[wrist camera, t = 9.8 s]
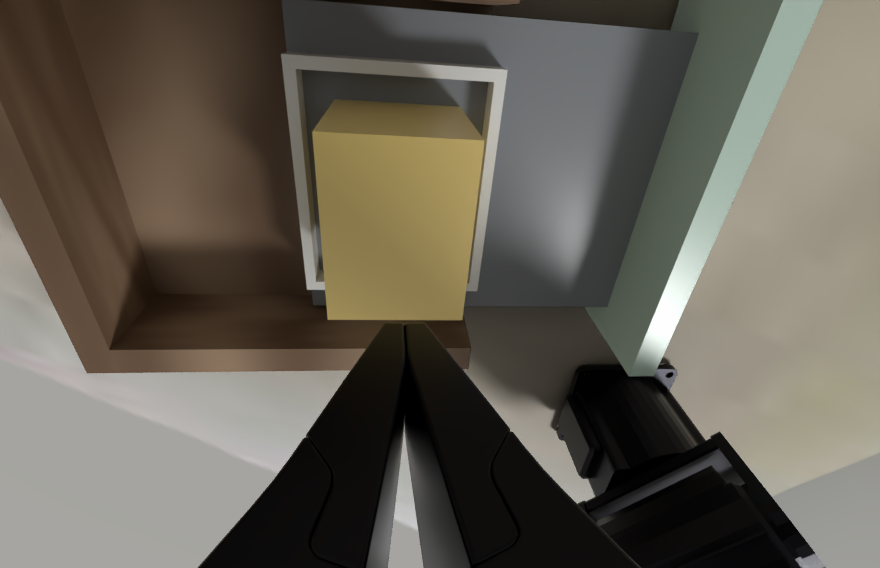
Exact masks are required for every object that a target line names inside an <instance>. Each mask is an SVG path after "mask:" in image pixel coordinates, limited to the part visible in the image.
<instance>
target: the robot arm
mask: <svg viewBox="0 0 880 568" xmlns="http://www.w3.org/2000/svg"><path fill="white" fill-rule="evenodd" d="M585 373H586V374H585ZM676 376H677V370H676V369H675V368H674V367H673V366H672V365H659V366H658V368H657V370H656V372H655V374H654V376H628V374H627V373H626V371H625V370H624V368H623V367H622V365H596V366H581V367H579V368H578V369H577V370H576V372H575V375H574V379H573V382H572V385H571V388H570V391H569V394H568V396H567V397H566V399H565V402H564V405H563V408H562V411H561V414H560V418H559V421H558V425H559V426H558V429H557V435H558V438H559V439H560V440H564V441H565V442H566V445H567V447H568V450H569V452H570V455H571V457H572V460H573V462H574V465H575V467H576V470H577V472H578V475H579V476H580V477H581V478H583V479H588V480H589V483H590V485H591V487H592V490H593V492H594V495H595V497H594V498H592V499H590V500H588V501H586V502H585V501H582V502H580V503H578V504H577V503H576V502H575V501H574V500H573V499H572V498H571V497H570V496H569V495H568V494H567V493H566V492H565V491H564V490H563V489H562V488H561V487H560V486H559V485H558V484H557V483H556V482H555V481H554V480H553V479H552V478H551V477H550V475H549V474H548V473H547V472H546V471H545V470H544V469H543V468H542V467H541V466H540V464H539V463H538V462H537V461H536V460H535V459H534V457H533V456H532V455H531V454H530V453H529V452H528V450H527V449H526V448H525V447H524V446H523V444H522V443H521V442H520V441H519V439H518V438H517V437H516V435H515V434H514V433H513V432H510V428H509V427H508V426H507V424H506V423H505V422H504V421H503V419H502V418H501V417H500V416H499V414H498V413H497V412H496V411H495V409H494V408H493V407H492V406H491V404H490V403H489V402H488V401H487V399H486V398H485V397H484V396H483V394H482V393H481V392H480V391H479V390H478V388H477V387H476V386H475V385H474V383H473V382H472V381H471V380H470V378H469V377H468V376H467V375H466V373H465V372H464V371H463V370H462V368H461V367H460V366H459V365H458V363H457V362H456V361H455V360H454V358H453V357H452V356H451V355H450V353H449V352H448V351H447V350H446V348H445V347H444V346H443V345H442V343H441V342H440V341H439V340H438V338H437V337H436V336H435V335H434V333H433V332H432V331H431V330H430V328H429V327H428V326H427V325H426V324H425V323H423V322H408V323H406V324H405V326H404V324H403V323H401V322H386V323H384V324H383V325H382V326H381V328H380V329H379V331H378V332H377V334H376V335H375V337H374V338H373V339H372V341H371V342H370V344H369V345H368V347H367V348H366V349H365V351H364V352H363V354H362V355H361V357H360V358H359V360H358V361H357V362H356V364H355V365H354V367H353V368H352V370H351V371H350V373H349V374H348V375H347V377H346V378H345V380H344V381H343V383H342V384H341V385H340V387H339V388H338V390H337V391H336V393H335V394H334V396H333V397H332V398H331V400H330V401H329V403H328V404H327V406H326V407H325V409H324V410H323V411H322V413H321V414H320V416H319V417H318V419H317V420H316V421H315V423H314V424H313V426H312V427H311V429H310V430H309V432H308V433H307V435H306V438H304V439H303V440H302V441H301V443H300V444H299V446H298V447H297V449H296V450H295V451H294V453H293V454H292V456H291V457H290V458H289V460H288V461H287V462H286V464H285V465H284V466H283V468H282V469H281V470H280V472H279V473H278V475H277V476H276V477H275V479H274V480H273V481H272V483H271V484H270V485H269V486H268V487H267V488H266V490H265V491H264V492H263V493H262V494H261V496H260V497H259V498H258V499H257V500H256V501H255V503H254V504H253V505H252V506H251V507H250V509H249V510H248V511H247V512H246V513H245V514H244V516H243V517H242V518H241V519H240V520H239V521H238V523H236V525H235V526H234V527H233V528H232V529H231V530H230V532H229V533H228V534H227V535H226V536H225V537H224V538H223V539H222V541H221V542H220V543H219V544H218V545H217V546H216V547H215V549H214V550H213V551H212V552H211V553H210V554H209V555H208V557H207V558H206V559H205V560H204V561H203V562H202V564H201V565H200V566H199V567H198V568H388V560H389V552H390V544H391V534H392V527H393V518H394V510H395V502H396V493H397V485H398V476H399V468H400V460H401V451H402V443H403V432H404V427H405V438H406V446H407V453H408V460H409V467H410V474H411V481H412V488H413V495H414V502H415V510H416V517H417V524H418V531H419V538H420V545H421V551H422V559H423V566H424V568H826V567H825V566H824V564H823V563H822V562H821V560H820V559H819V558H818V556H817V555H816V554H815V552H814V551H813V550H812V548H811V547H810V546H809V545H808V543H807V542H806V541H805V539H804V538H803V537H802V535H801V534H800V533H799V532H798V530H797V529H796V528H795V526H794V525H793V524H792V522H791V521H790V520H789V518H788V517H787V516H786V515H785V513H784V512H783V511H782V510H781V508H780V507H779V506H778V504H777V503H776V502H775V501H774V499H773V498H772V497H771V495H770V494H769V493H768V492H767V490H766V489H765V488H764V487H763V485H762V484H761V483H760V482H759V480H758V479H757V478H756V477H755V475H754V474H753V473H752V472H751V470H750V469H749V468H748V466H747V465H746V464H745V463H744V461H743V460H742V459H741V458H740V456H739V455H738V454H737V453H736V451H735V450H734V449H733V448H732V446H731V445H730V444H729V443H728V441H727V440H726V439H725V438H724V436H723V435H722V434H721V433H720V432H718V433H716V434H714V435H712V436H710V437H711V439H709V440H707V441H706V440H705V439H704V437H703V436H702V435H701V433H700V432H699V431H698V429H697V428H696V427H695V425H694V424H693V422H692V421H691V420H690V418H689V417H688V416H687V414H686V413H685V412H684V410H683V409H682V407H681V406H680V405H679V403H678V402H677V401H676V399H675V398H674V397H673V395H672V394H671V392H670V391H669V390H670V388H671V386H672V384H673V382H674V380H675V378H676Z"/></svg>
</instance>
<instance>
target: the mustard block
mask: <svg viewBox="0 0 880 568" xmlns="http://www.w3.org/2000/svg"><path fill="white" fill-rule="evenodd" d="M312 135H313V147H314V159H315V172H316V184H317V196H318V208H319V220H320V233H321V245H322V257H323V269H324V282H325V294H326V306H327V318H328V320H462V319H463V311H464V303H465V295H466V287H467V279H468V271H469V263H470V255H471V246H472V238H473V230H474V222H475V214H476V206H477V198H478V190H479V182H480V174H481V166H482V158H483V149H484V141H485V140H484V139H483V138H482V136H481V135H480V133H479V132H478V131H477V129H476V128H475V127H474V125H473V124H472V122H471V121H470V120H469V118H468V117H467V115H466V114H465V113H464V111H463V110H462V109H461V107H455V106H439V105H422V104H406V103H390V102H374V101H357V100H341V99H335V100H334V101H333V103H332V104H331V105H330V107H329V108H328V110H327V111H326V113H325V114H324V115H323V117H322V118H321V120H320V121H319V123H318V124H317V125H316V127H315V128H314V130H313V131H312Z"/></svg>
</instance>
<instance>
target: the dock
mask: <svg viewBox="0 0 880 568" xmlns="http://www.w3.org/2000/svg"><path fill="white" fill-rule="evenodd" d="M315 1H327V2H338V3H350V4H362V5H374V6H386V7H398V8H409V9H421V10H433V11H445V12H457V13H468V14H480V15H491V7H492V6H497V5H508V4H519V3H520V0H315ZM285 52H287V48H286V39H285V29H284V19H283V10H282V0H0V197H1V199H2V201H3V203H4V205H5V207H6V209H7V211H8V213H9V215H10V217H11V219H12V221H13V223H14V225H15V227H16V230H17V232H18V234H19V236H20V238H21V240H22V242H23V244H24V246H25V248H26V250H27V252H28V254H29V256H30V258H31V260H32V262H33V264H34V266H35V268H36V270H37V272H38V274H39V276H40V278H41V280H42V282H43V285H44V287H45V289H46V291H47V293H48V295H49V297H50V299H51V301H52V303H53V305H54V307H55V309H56V311H57V313H58V315H59V317H60V319H61V321H62V323H63V325H64V327H65V329H66V331H67V333H68V335H69V338H70V340H71V342H72V344H73V346H74V348H75V350H76V352H77V354H78V356H79V358H80V360H81V362H82V364H83V366H84V368H85V370H86V372H87V373H143V372H233V371H323V370H352V368H353V367H354V365H355V364H356V362H357V361H358V360H359V358H360V357H361V355H362V354H363V352H364V351H365V349H366V348H367V347H368V345H369V344H370V342H371V341H372V339H373V338H374V337H375V335H376V334H377V332H378V331H379V329H380V328H381V326H382V325H383V324H384V323H386V322H401V323H403V324H404V326H405V324H406V323H408V322H423V323H425V324H426V325H427V326H428V327H429V328H430V330H431V331H432V332H433V333H434V335H435V336H436V337H437V338H438V340H439V341H440V342H441V343H442V345H443V346H444V347H445V348H446V350H447V351H448V352H449V353H450V355H451V356H452V357H453V358H454V360H455V361H456V362H457V363H458V365H459V366H460V367H461V368H462V369H468V366H469V359H470V352H471V346H470V342H469V337H468V333H467V329H466V324H465V320H464V316H463V319H462V320H328V318H327V306H326V305H313V299H312V290H307V285H306V276H305V267H304V258H303V249H302V240H301V231H300V222H299V213H298V204H297V195H296V186H295V177H294V168H293V158H292V149H291V140H290V131H289V122H288V113H287V104H286V95H285V86H284V77H283V68H282V59H281V54H282V53H285Z"/></svg>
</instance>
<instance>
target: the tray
mask: <svg viewBox="0 0 880 568" xmlns="http://www.w3.org/2000/svg"><path fill="white" fill-rule="evenodd" d="M822 2H823V0H679V3H678V7H677V10H676V13H675V16H674V20H673V23H672V26H671V30H670V31H669V30H657V29H646V28H634V27H622V26H610V25H598V24H587V23H575V22H563V21H551V20H539V19H527V18H516V17H504V16H492V15H480V14H468V13H457V12H445V11H433V10H421V9H409V8H398V7H386V6H374V5H362V4H350V3H338V2H327V1H315V0H282V10H283V19H284V29H285V39H286V48H287V52H285V53H282V54H281V59H282V68H283V77H284V86H285V95H286V104H287V113H288V122H289V131H290V140H291V149H292V158H293V168H294V177H295V186H296V195H297V204H298V213H299V222H300V231H301V240H302V249H303V258H304V267H305V276H306V285H307V290H312V299H313V305H326V294H325V282H324V269H323V257H322V245H321V233H320V220H319V208H318V196H317V184H316V172H315V159H314V147H313V135H312V131H313V130H314V128H315V127H316V125H317V124H318V123H319V121H320V120H321V118H322V117H323V115H324V114H325V113H326V111H327V110H328V108H329V107H330V105H331V104H332V103H333V101H334V100H335V99H341V100H357V101H374V102H390V103H406V104H422V105H439V106H455V107H461V109H462V110H463V111H464V113H465V114H466V115H467V117H468V118H469V120H470V121H471V122H472V124H473V125H474V127H475V128H476V129H477V131H478V132H479V133H480V135H481V136H482V138H483V139H484V140H485V141H484V149H483V158H482V166H481V174H480V182H479V190H478V198H477V206H476V214H475V222H474V230H473V238H472V246H471V255H470V263H469V271H468V279H467V287H466V295H465V303H464V306H511V307H586V309H585V310H586V311H587V313H588V314H589V316H590V317H591V319H592V320H593V322H594V324H595V325H596V327H597V328H598V330H599V331H600V333H601V334H602V336H603V337H604V339H605V340H606V342H607V344H608V345H609V347H610V348H611V350H612V351H613V353H614V354H615V356H616V357H617V359H618V360H619V362H620V364H621V365H622V367H623V368H624V370H625V371H626V373H627V374H628V376H654V374H655V372H656V370H657V368H658V366H659V363H660V361H661V359H662V357H663V354H664V352H665V350H666V348H667V346H668V343H669V341H670V339H671V337H672V335H673V332H674V330H675V328H676V326H677V323H678V321H679V319H680V317H681V315H682V312H683V310H684V308H685V306H686V304H687V301H688V299H689V297H690V295H691V292H692V290H693V288H694V286H695V284H696V281H697V279H698V277H699V275H700V273H701V270H702V268H703V266H704V264H705V261H706V259H707V257H708V255H709V253H710V250H711V248H712V246H713V244H714V242H715V239H716V237H717V235H718V233H719V230H720V228H721V226H722V224H723V222H724V219H725V217H726V215H727V213H728V211H729V208H730V206H731V204H732V202H733V199H734V197H735V195H736V193H737V191H738V188H739V186H740V184H741V182H742V180H743V177H744V175H745V173H746V171H747V168H748V166H749V164H750V162H751V160H752V157H753V155H754V153H755V151H756V149H757V146H758V144H759V142H760V140H761V137H762V135H763V133H764V131H765V129H766V126H767V124H768V122H769V120H770V118H771V115H772V113H773V111H774V109H775V106H776V104H777V102H778V100H779V98H780V95H781V93H782V91H783V89H784V87H785V84H786V82H787V80H788V78H789V75H790V73H791V71H792V69H793V67H794V64H795V62H796V60H797V58H798V56H799V53H800V51H801V49H802V47H803V44H804V42H805V40H806V38H807V36H808V33H809V31H810V29H811V27H812V25H813V22H814V20H815V18H816V16H817V13H818V11H819V9H820V7H821V5H822Z"/></svg>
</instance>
